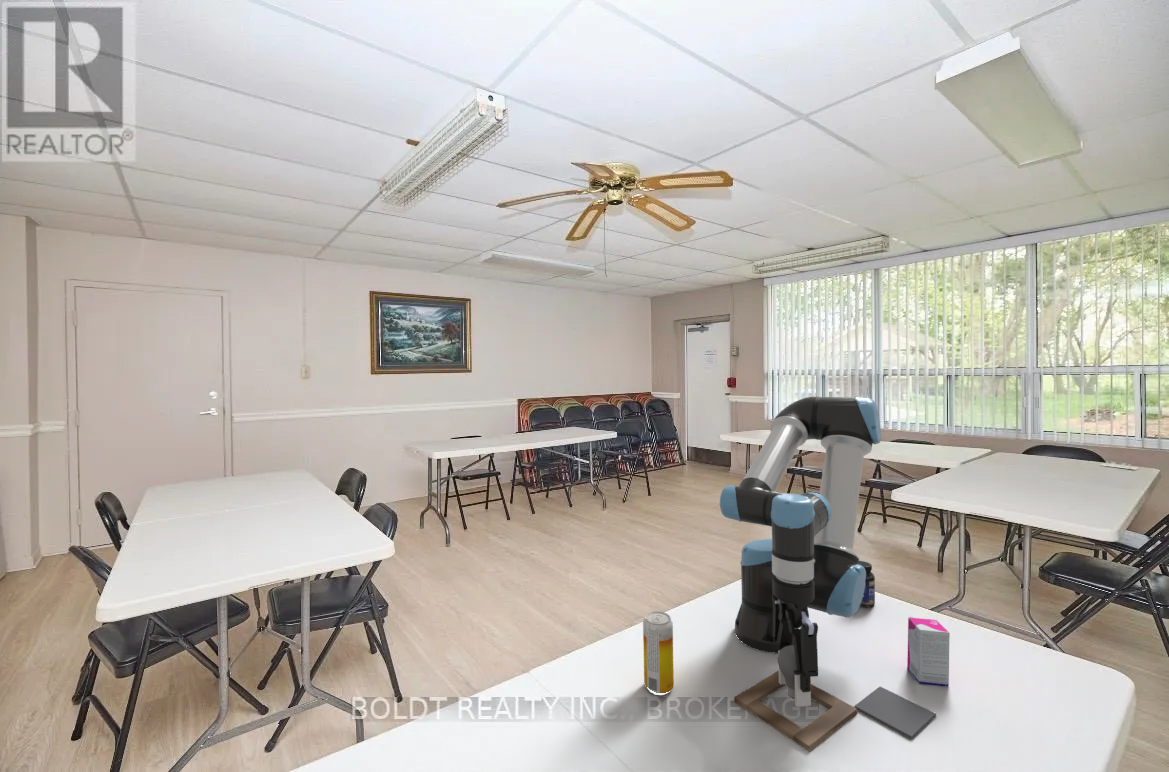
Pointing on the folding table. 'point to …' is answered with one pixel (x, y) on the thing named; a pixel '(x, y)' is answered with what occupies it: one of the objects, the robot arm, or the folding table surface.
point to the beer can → (658, 652)
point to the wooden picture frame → (802, 736)
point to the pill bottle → (868, 586)
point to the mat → (895, 712)
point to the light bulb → (788, 668)
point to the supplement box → (928, 652)
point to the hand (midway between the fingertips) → (794, 693)
